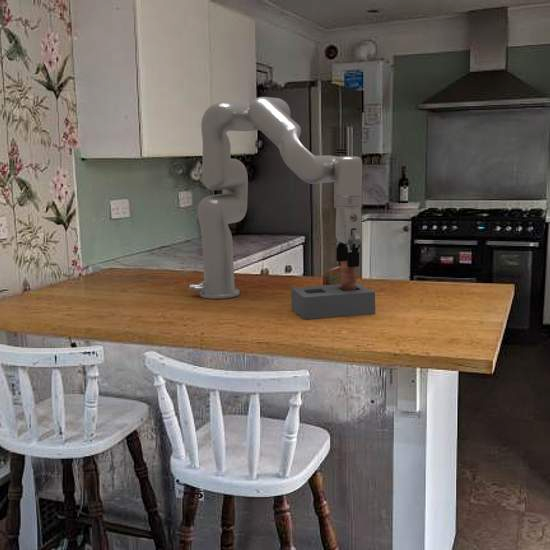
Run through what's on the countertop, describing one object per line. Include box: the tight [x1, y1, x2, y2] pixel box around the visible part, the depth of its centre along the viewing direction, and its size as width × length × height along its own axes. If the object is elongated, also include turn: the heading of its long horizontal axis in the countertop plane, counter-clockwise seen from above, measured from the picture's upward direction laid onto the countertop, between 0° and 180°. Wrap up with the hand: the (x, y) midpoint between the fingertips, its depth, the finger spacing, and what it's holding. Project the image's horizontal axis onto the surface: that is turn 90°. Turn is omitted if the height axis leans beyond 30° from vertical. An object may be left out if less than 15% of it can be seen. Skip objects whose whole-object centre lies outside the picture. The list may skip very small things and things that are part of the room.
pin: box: [340, 261, 357, 291], centre depth 193 cm, size 4×4×12 cm
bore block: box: [290, 282, 376, 320], centre depth 193 cm, size 20×14×6 cm
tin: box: [322, 265, 341, 286], centre depth 217 cm, size 15×3×8 cm, turn 144°
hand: (347, 263), depth 192 cm, fingers open, 9 cm apart
